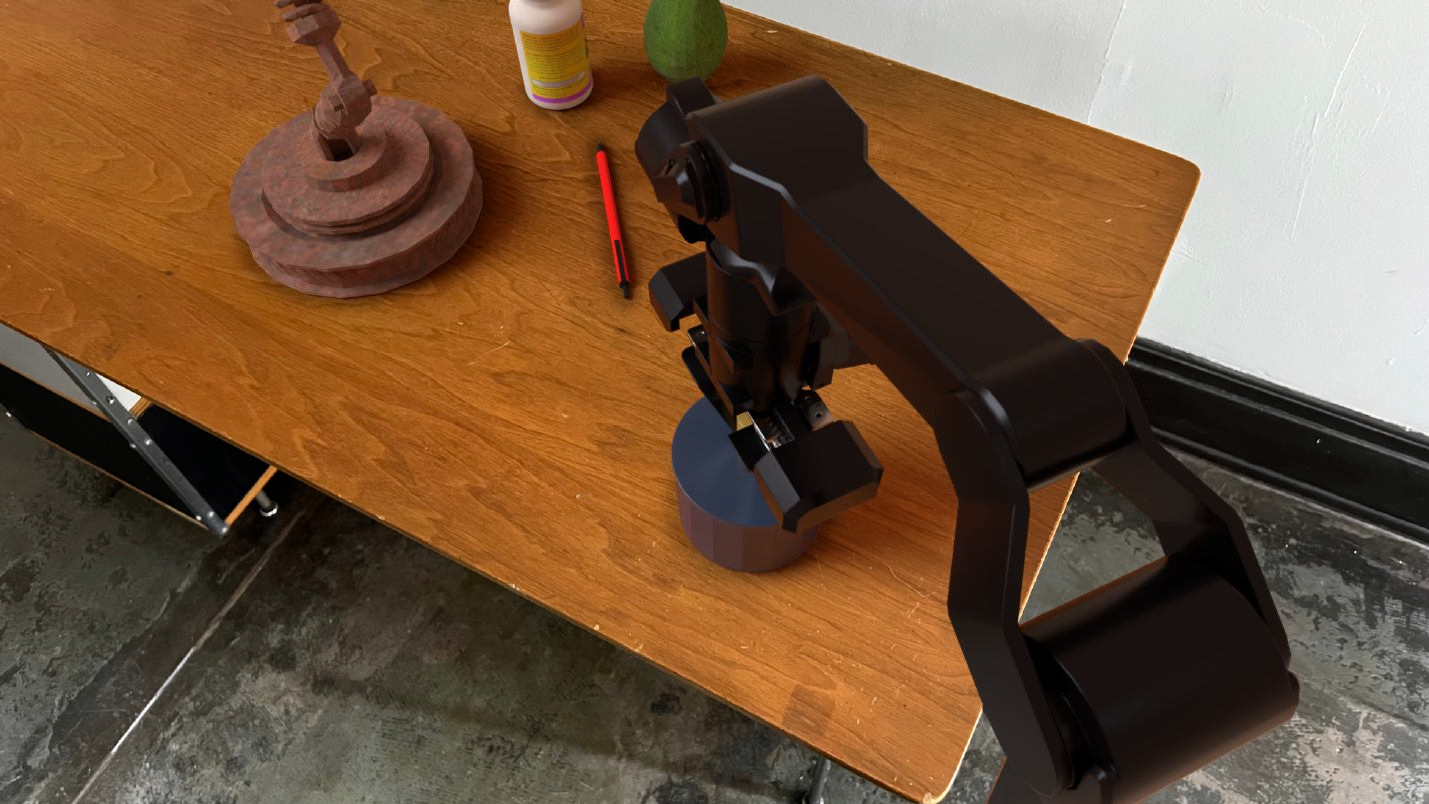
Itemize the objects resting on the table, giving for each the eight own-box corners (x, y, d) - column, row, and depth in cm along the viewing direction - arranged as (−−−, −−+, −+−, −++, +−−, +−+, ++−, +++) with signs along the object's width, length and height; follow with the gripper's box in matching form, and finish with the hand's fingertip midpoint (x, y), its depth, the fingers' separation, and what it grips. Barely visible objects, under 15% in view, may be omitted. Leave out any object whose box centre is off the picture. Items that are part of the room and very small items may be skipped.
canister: (849, 535, 69) (861, 486, 63) (718, 596, 67) (718, 552, 60) (780, 424, 74) (785, 368, 68) (656, 477, 72) (650, 425, 65)
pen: (622, 301, 81) (620, 293, 80) (594, 146, 91) (593, 137, 90) (632, 299, 81) (631, 291, 80) (604, 145, 91) (602, 135, 90)
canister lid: (867, 491, 63) (879, 448, 58) (716, 561, 60) (715, 522, 56) (787, 368, 68) (792, 319, 64) (645, 427, 66) (639, 381, 61)
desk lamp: (387, 61, 98) (210, -443, 64) (548, 252, 84) (429, -266, 50) (184, 147, 91) (-131, -364, 58) (322, 370, 77) (10, -135, 44)
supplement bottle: (605, 98, 94) (589, -21, 84) (543, 122, 93) (519, 3, 82) (575, 60, 98) (557, -60, 87) (515, 82, 96) (488, -37, 85)
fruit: (701, 114, 93) (699, 4, 83) (632, 88, 95) (621, -23, 85) (741, 68, 97) (743, -43, 87) (673, 43, 99) (667, -68, 89)
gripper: (994, 374, 47) (936, 515, 61) (809, 140, 57) (794, 307, 70) (796, 462, 45) (780, 590, 58) (635, 202, 54) (653, 363, 67)
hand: (754, 449), depth 63 cm, fingers closed on canister lid, 2 cm apart
